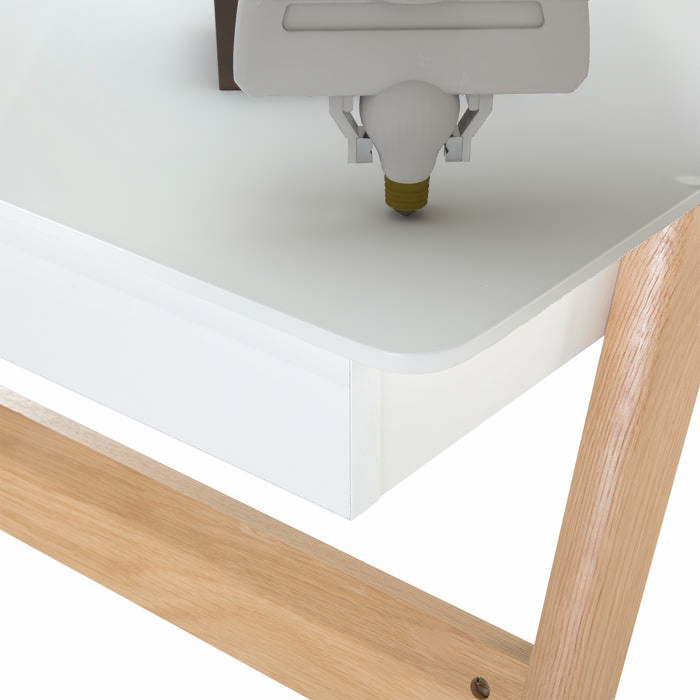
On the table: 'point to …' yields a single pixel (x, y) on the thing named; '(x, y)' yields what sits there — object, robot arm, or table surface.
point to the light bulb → (409, 137)
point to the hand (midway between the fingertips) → (407, 159)
